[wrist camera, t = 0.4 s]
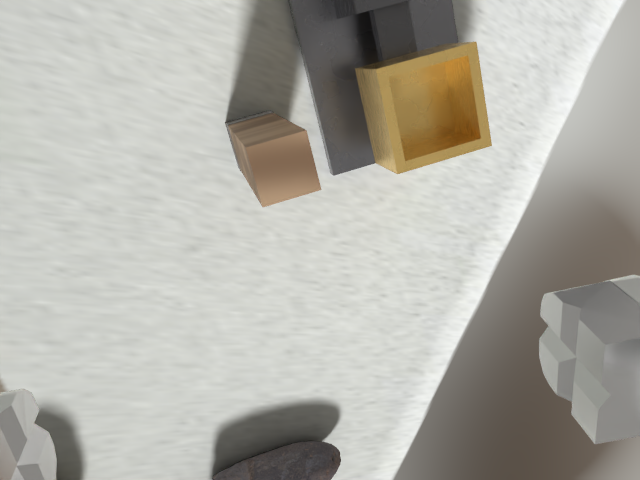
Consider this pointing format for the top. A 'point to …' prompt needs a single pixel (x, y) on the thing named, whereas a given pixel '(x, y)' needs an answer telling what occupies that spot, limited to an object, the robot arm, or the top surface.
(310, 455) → the perforated stone tool
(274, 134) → the rail post
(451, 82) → the cup bracket
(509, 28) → the top surface
